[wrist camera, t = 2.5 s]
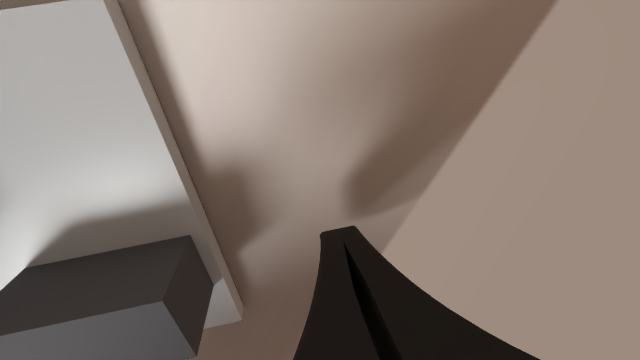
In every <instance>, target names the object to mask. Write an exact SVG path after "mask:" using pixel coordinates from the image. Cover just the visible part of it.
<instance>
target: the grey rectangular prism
mask: <svg viewBox="0 0 640 360" xmlns="http://www.w3.org/2000/svg"><path fill="white" fill-rule="evenodd" d="M213 287H214V285H213V282H212V280H211V278H210V276H209V274H208V272H207V270H206V267H205V265H204V263H203V261H202V259H201V257H200V254H199V252H198V250H197V248H196V246H195V244H194V242H193V239H192V237H191V235H187V236H182V237H177V238H172V239H167V240H162V241H157V242H152V243H147V244H142V245H137V246H132V247H127V248H122V249H117V250H112V251H107V252H102V253H97V254H92V255H87V256H82V257H77V258H72V259H67V260H62V261H58V262H53V263H48V264H43V265H38V266H33V267H28V268H24V269H23V270H22V271H21V272H20V273H19V274H18V275H17V276H16V277H15V278H14V279H12V280H11V281H10V282H9V283H8V284H7V285H6V286H5V287H4V288H3V289H2V290H1V291H0V360H185V359H189V358H193V357H197V353H198V349H199V345H200V341H201V337H202V333H203V328H204V324H205V320H206V316H207V312H208V308H209V304H210V299H211V295H212V291H213Z"/></svg>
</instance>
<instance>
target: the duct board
mask: <svg viewBox="0 0 640 360" xmlns="http://www.w3.org/2000/svg"><path fill="white" fill-rule="evenodd" d="M187 235H191V237H192V239H193V242H194V244H195V246H196V248H197V250H198V252H199V254H200V257H201V259H202V261H203V263H204V265H205V267H206V270H207V272H208V274H209V276H210V278H211V280H212V282H213V285H214V287H213V291H212V295H211V299H210V304H209V308H208V312H207V316H206V320H205V324H204V328H203V329H208V328H212V327H217V326H221V325H226V324H230V323H235V322H239V321H242V317H243V308H244V306H243V304H242V301H241V299H240V296H239V294H238V291H237V289H236V287H235V284H234V282H233V279H232V277H231V274H230V272H229V270H228V267H227V265H226V262H225V260H224V258H223V255H222V253H221V250H220V248H219V245H218V243H217V241H216V238H215V236H214V233H213V231H212V228H211V226H210V224H209V221H208V219H207V216H206V214H205V211H204V209H203V207H202V204H201V202H200V199H199V197H198V194H197V192H196V190H195V187H194V185H193V182H192V180H191V178H190V175H189V173H188V170H187V168H186V165H185V163H184V161H183V158H182V156H181V153H180V151H179V148H178V146H177V144H176V141H175V139H174V136H173V134H172V131H171V129H170V127H169V124H168V122H167V119H166V117H165V114H164V112H163V110H162V107H161V105H160V102H159V100H158V98H157V95H156V93H155V90H154V88H153V85H152V83H151V81H150V78H149V76H148V73H147V71H146V68H145V66H144V64H143V61H142V59H141V56H140V54H139V51H138V49H137V47H136V44H135V42H134V39H133V37H132V35H131V32H130V30H129V27H128V25H127V22H126V20H125V18H124V15H123V13H122V10H121V8H120V5H119V3H118V1H117V0H67V1H60V2H53V3H46V4H39V5H32V6H25V7H18V8H11V9H4V10H0V291H1V290H2V289H3V288H4V287H5V286H6V285H7V284H8V283H9V282H10V281H11V280H12V279H14V278H15V277H16V276H17V275H18V274H19V273H20V272H21V271H22V270H23V269H24V268H28V267H33V266H38V265H43V264H48V263H53V262H58V261H62V260H67V259H72V258H77V257H82V256H87V255H92V254H97V253H102V252H107V251H112V250H117V249H122V248H127V247H132V246H137V245H142V244H147V243H152V242H157V241H162V240H167V239H172V238H177V237H182V236H187Z"/></svg>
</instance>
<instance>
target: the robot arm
mask: <svg viewBox="0 0 640 360" xmlns="http://www.w3.org/2000/svg"><path fill="white" fill-rule="evenodd" d="M320 240H321V253H320V263H319V270H318V277H317V282H316V286H315V291H314V296H313V300H312V304H311V308H310V311H309V315H308V318H307V321H306V325H305V328H304V331H303V333H302V336H301V339H300V342H299V345H298V348H297V350H296V353H295V356H294V358H293V360H540V359H538V358H536V357H534V356H532V355H530V354H528V353H526V352H523V351H522V350H520V349H517V348H515V347H513V346H511V345H510V344H508V343H506V342H504V341H502V340H500V339H498V338H497V337H495V336H493V335H491V334H490V333H488V332H486V331H484V330H483V329H481V328H479V327H478V326H476V325H474V324H473V323H471V322H470V321H468V320H466V319H465V318H463V317H461V316H460V315H458V314H456V313H455V312H453V311H452V310H450V309H448V308H447V307H445V306H444V305H443V304H441V303H440V302H438V301H437V300H435V299H434V298H433V297H431V296H430V295H429V294H427V293H426V292H424V291H423V290H422V289H420V288H419V287H418V286H416V285H415V284H414V283H413V282H411V281H410V280H409V279H408V278H407V277H405V276H404V275H403V274H402V273H401V272H400V271H398V270H397V269H396V268H395V267H394V266H393V265H392V264H391V263H389V262H388V261H387V260H386V259H385V258H384V257H383V256H382V255H381V254H380V253H379V252H378V251H377V250H376V249H375V248H374V247H373V246H372V245H371V244H370V243H369V242H368V241H367V239H366V238H365V237H364V236H363V235H362V234H361V233H360V231H359V230H358V229H357V228H356V227H355V226H349V227H344V228H339V229H335V230H330V231H325V232H322V233H321V234H320Z"/></svg>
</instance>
